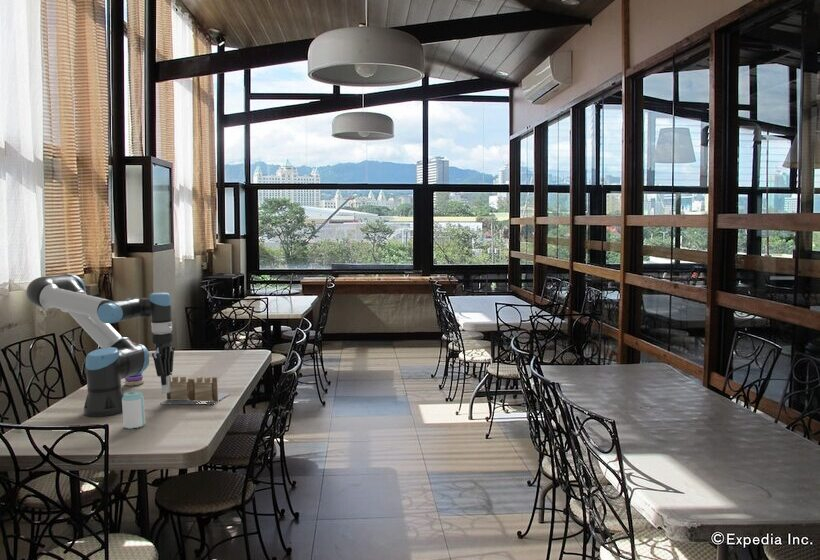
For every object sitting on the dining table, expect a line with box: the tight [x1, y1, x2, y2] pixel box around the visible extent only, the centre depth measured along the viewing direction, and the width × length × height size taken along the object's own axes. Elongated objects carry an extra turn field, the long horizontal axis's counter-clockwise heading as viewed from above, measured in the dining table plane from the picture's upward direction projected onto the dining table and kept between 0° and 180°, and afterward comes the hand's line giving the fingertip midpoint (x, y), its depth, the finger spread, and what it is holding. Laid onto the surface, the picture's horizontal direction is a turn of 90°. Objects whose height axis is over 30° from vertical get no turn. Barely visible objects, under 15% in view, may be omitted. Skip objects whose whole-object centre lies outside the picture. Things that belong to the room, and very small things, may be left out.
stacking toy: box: [124, 341, 145, 387], centre depth 296 cm, size 8×8×19 cm
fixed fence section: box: [187, 376, 219, 401], centre depth 265 cm, size 2×12×10 cm, turn 81°
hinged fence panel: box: [166, 375, 189, 400], centre depth 267 cm, size 2×9×9 cm, turn 81°
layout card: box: [160, 392, 231, 406], centre depth 269 cm, size 16×22×1 cm
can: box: [122, 390, 146, 430], centre depth 234 cm, size 7×7×12 cm
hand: (166, 392), depth 262 cm, fingers closed
